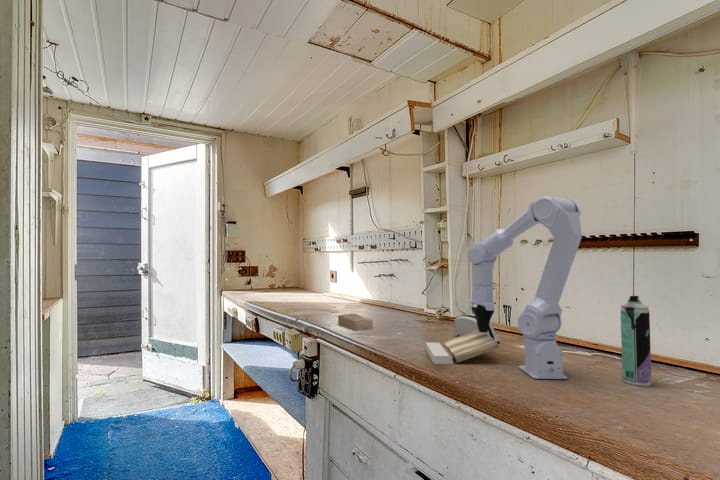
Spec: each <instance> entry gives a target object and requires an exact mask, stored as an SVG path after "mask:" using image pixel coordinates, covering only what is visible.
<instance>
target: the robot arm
mask: <svg viewBox="0 0 720 480" xmlns="http://www.w3.org/2000/svg"><path fill="white" fill-rule="evenodd" d="M581 213H582V210H581V208H580V207H579V206H578V204H577V203H576V202H575V200H574V199H572V198H567V197H566V198H561V197H555V196H550V195H542V196H540V197H538V198H537V199H536V200H535V201H534V202H532V203H530V204H529V205H528V208H527V209H526V210H525V211H524V212H522V214H521V215H519V216H518V217H517V218H516V219H515V220H514V221H513V222H511V223H510V224H509V225H508V226H507V227H506V228H505V229H503V228H498V229H494V230H493V231H492V234H490V235H489V236H488V237H486V238H484V239H482V240H481V241H480V243H473V244H471V246H470V247H469V248H468V252H467V257H468V258H467V259H468V260H469V262H471V266H472V267H471V272H472V273H471V274H472V277H471V278H472V285H471V286H472V299H469V300H468V303H469V304H473V305H476V306H473V307H471V310H472V312H473V314H475V317H476V321H477V325H478V330H479V332H488V328H489V323H490V322H491V319H492V317H493V314H494V313H495V301H494V280H493V279H494V278H493V276H494V273H493V271H494V270H493V269H494V268H495V266H494V265H495V263H496V261H497V257H498V256H499V255H500V254H502V253H504V252H505V251H506V250H507V249H509V248H510V247H512V246H513V244H514V239H516V238H518V236H520V235H522V234H524V233H525V232H526V231H527V230H529V229H531V228H532V227H534V226H536V225H538V224H542V225H543V226H544V227H545V228H547V229H548V230H549V232H550V233H551V236H552V238H553V242H552V244H551V247H550V250H549V253H548V256H547V259H546V262H545V265H544V269H543V271H542V273H541V277H540V280H539V284H538V286H537V289H536V293H535V295H534V297H533V298H532V299H531V300H530V301H529V302H528V303H527V304H526V305H525V308H524V310H523V312H521V313H520V314H519V316H518V317H517V327H518V329H519V332H521V334H522V337H524V338H523V340H524V343H523V344H524V345H523V347H524V365H518V368H519V369H521V370H522V371H523V372H525V374H527V375H529V376H530V377H531V378H533V379H536V380H539V379H540V380H541V379H542V380H547V379H548V380H549V379H550V380H568V376H566V375H565V374H564V360H563V358H564V355H563V351H562V348H561V347H560V345H558V343H557V339H556V338H557V332H559V330H560V329H561V327H562V312H563V309H562V307H561V306H560V304H559V303H560V300H561V298H562V294H563V292H564V289H565V286H566V282H567V280H568V277H569V274H570V271H571V269H572V266H573V263H574V262H575V261H574V260H575V257H576V255H577V251H578V249H579V247H580V243H581V240H582V237H583V232H582V225H581V219H580V217H581Z"/></svg>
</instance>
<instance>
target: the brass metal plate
mask: <svg viewBox="0 0 720 480" xmlns="http://www.w3.org/2000/svg"><path fill="white" fill-rule="evenodd" d="M443 344H444V346H445V347H446V348H447V349H448V351H449V352H450V353H451V354H452V359H453V360H454V361H455V362H456V363H457V364H458V363H460V362H464V361H466V360H468V359H472V358H474V357H475V358H476V357H478V356H480V355H484V354H487V353H488V352H492V351H494V350H497V349H499V348H500V346H499V343H497V341H496V340H495V339H493V338H492V337H490V336H489V335H487V334H486V333H484V332H479V330H477V331H474V332H471V333H468V334H466V335H463V336H457V337H454V338H452V339H449V340H447V341H444V342H443Z"/></svg>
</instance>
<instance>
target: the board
mask: <svg viewBox="0 0 720 480" xmlns="http://www.w3.org/2000/svg"><path fill="white" fill-rule="evenodd" d="M425 351H426V353H427V355H428V356H429V358H430V360H431V361H432V363H433V364H434V365H453V360H454V359H453V357H452V354H451V353H450V352H449V351H448V349H447V348H446V347H445V345H444V342H442V341H439V342H425Z"/></svg>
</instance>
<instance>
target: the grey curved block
mask: <svg viewBox="0 0 720 480" xmlns="http://www.w3.org/2000/svg"><path fill="white" fill-rule="evenodd" d="M454 324H455V330H456V334H457V336H458V335H459V336H458V337H460V336H463V335H466V334H468V333H471V332H474V331H477V330H478V325H477V321H476V317H475V314H474V313H466V314H462V315H459V316H458V317H456V318H455V319H454ZM484 333H486V334H487V335H489V336H490V337H492V338H493V339H495V340H496V341H497V342H498V344H500V343H501V344H502V341H501V339H500V338H499V337H497V335H496V334H497V333H496V332H495V329H494V327H493V325H492V322H491V321H490V323H489V328H488V332H484Z"/></svg>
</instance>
